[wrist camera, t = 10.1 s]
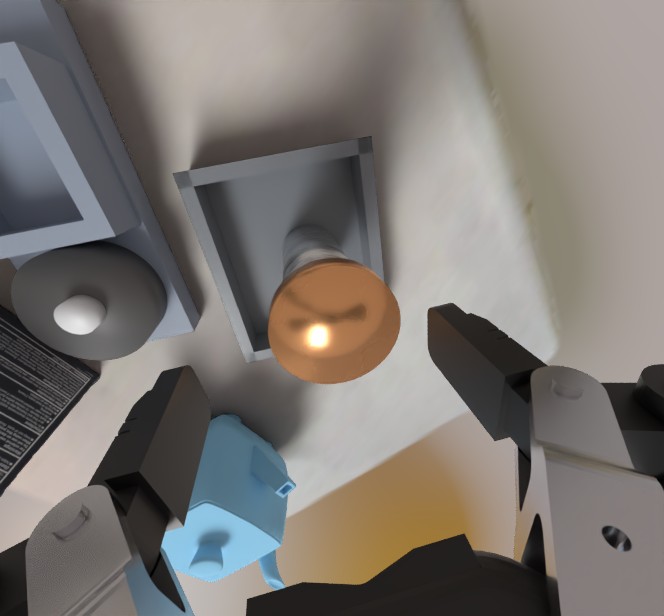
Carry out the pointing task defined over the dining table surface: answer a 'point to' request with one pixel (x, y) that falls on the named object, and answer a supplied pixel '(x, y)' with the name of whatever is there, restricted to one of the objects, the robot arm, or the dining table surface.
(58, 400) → the small box
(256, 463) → the teapot
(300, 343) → the copper capped glass jar
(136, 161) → the dining table surface
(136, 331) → the block
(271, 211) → the tray
